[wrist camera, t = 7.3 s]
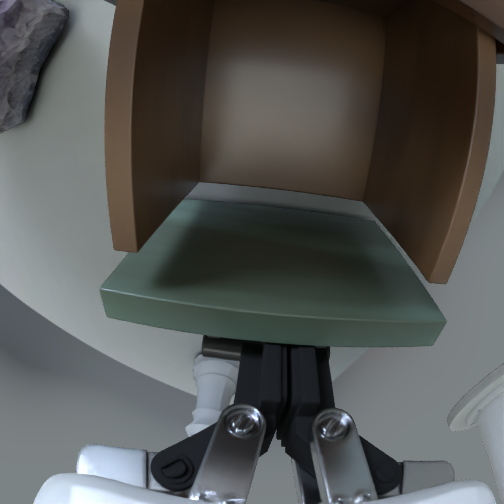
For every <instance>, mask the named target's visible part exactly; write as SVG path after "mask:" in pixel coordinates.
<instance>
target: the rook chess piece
mask: <svg viewBox="0 0 504 504" xmlns="http://www.w3.org/2000/svg"><path fill="white" fill-rule="evenodd" d="M239 364H240V362H239V361H230V360H222V359H215V358H208V357H203V356H202V354H201V355H199V356H197V358H196V359H195V361H194V366H195V367H194V368H193V377H194V380H195V383H196V386H197V388H198V394H197V405H196V409H195V410H194V411H193V412H192V415H193V417H194V421H193V422H192V423H191V424H189V425H188V426H187V427H186V428H185V429H186V432H187V434H188V436H189V437H190V436H192V435H194V434H196V433H198V432H200V431H201V430H203V429H205V428H207V427H209V426H210V425H212V424H214V423H216V422H217V421H218V419H219V416H220V414H221V413H222V411H223V410H224V409H225V408H226V407H228V406H229V404H230V401H231V398H232V396H233V394H234V393H235V392H236V385H237V378H238V371H239Z"/></svg>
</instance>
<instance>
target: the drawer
mask: <svg viewBox="0 0 504 504" xmlns="http://www.w3.org/2000/svg"><path fill="white" fill-rule="evenodd" d="M495 91H496V41H495V37H493V36H492V35H490V34H489V33H487V32H486V31H484V30H483V29H481V28H480V27H478V26H477V25H475V24H474V23H472V22H470V21H469V20H467V19H465V18H464V17H462V16H460V15H458V14H457V13H455V12H453V11H451V10H449V9H448V8H446V7H444V6H442V5H440V4H438V3H436V2H434V1H432V0H117V5H116V10H115V15H114V21H113V27H112V34H111V41H110V48H109V57H108V67H107V79H106V95H105V167H106V184H107V197H108V208H109V217H110V226H111V234H112V241H113V248H114V250H117V251H125V252H129V253H128V254H127V255H126V257H125V258H124V259H123V260H122V261H121V262H120V264H119V265H118V266H117V267H116V269H115V270H114V271H113V272H112V273H111V275H110V276H109V277H108V278H107V280H106V281H105V282H104V283H103V285H102V286H101V287H100V294H101V298H102V301H103V305H104V309H105V312H106V316H107V317H109V318H114V319H118V320H123V321H128V322H133V323H138V324H143V325H148V326H153V327H159V328H164V329H170V330H176V331H182V332H188V333H195V334H202V335H204V336H203V342H202V356H203V357H208V358H215V359H222V360H230V361H239V362H240V357H241V349H242V343H243V342H252V343H261V342H271V343H283V344H296V345H313V346H314V347H315V348H323V349H326V350H327V355H328V361H329V358H330V346H335V347H414V346H432V345H433V344H434V343H435V341H436V339H437V338H438V336H439V334H440V333H441V331H442V329H443V327H444V326H445V324H446V322H447V321H446V319H445V317H444V316H443V314H442V313H441V311H440V310H439V308H438V307H437V305H436V303H435V302H434V300H433V299H432V297H431V296H430V294H429V293H428V292H427V290H426V288H425V287H424V286H423V284H422V283H421V281H420V280H419V278H418V277H417V276H416V274H415V273H414V271H413V270H412V269H411V267H410V266H409V264H408V263H407V262H406V260H405V259H404V258H403V256H402V255H401V254H400V252H399V251H398V250H397V248H396V247H395V246H394V245H393V243H392V242H391V241H390V239H389V238H388V237H387V236H386V234H385V233H384V232H383V231H382V229H381V228H380V227H379V226H378V225H377V223H376V222H375V221H371V220H364V219H358V218H351V217H344V216H337V215H330V214H323V213H315V212H308V211H300V210H292V209H283V208H275V207H266V206H256V205H247V204H237V203H226V202H215V201H203V200H191V199H184V198H185V197H186V196H187V195H188V194H189V193H190V192H191V190H192V189H193V188H194V187H195V186H196V185H197V184H198V183H199V182H205V183H218V184H230V185H241V186H251V187H261V188H270V189H278V190H287V191H295V192H303V193H310V194H317V195H324V196H331V197H338V198H344V199H350V200H356V201H362V202H363V203H364V204H365V205H366V206H367V207H368V208H369V209H370V210H371V212H372V213H373V214H374V215H375V216H376V217H377V218H378V220H379V221H380V222H381V223H382V224H383V225H384V226H385V228H386V229H387V230H388V231H389V232H390V234H391V235H392V236H393V237H394V238H395V240H396V241H397V242H398V243H399V245H400V246H401V247H402V248H403V250H404V251H405V252H406V253H407V255H408V256H409V257H410V258H411V260H412V261H413V262H414V264H415V265H416V266H417V268H418V269H419V270H420V272H421V273H422V274H423V276H424V277H425V278H426V280H427V281H428V282H429V283H436V284H446V283H447V282H448V279H449V277H450V275H451V272H452V270H453V268H454V265H455V263H456V260H457V258H458V255H459V253H460V250H461V247H462V245H463V242H464V239H465V236H466V234H467V231H468V228H469V225H470V222H471V218H472V215H473V212H474V209H475V205H476V202H477V198H478V195H479V191H480V187H481V183H482V179H483V174H484V170H485V165H486V161H487V155H488V150H489V144H490V138H491V131H492V124H493V115H494V105H495Z"/></svg>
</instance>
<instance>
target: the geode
mask: <svg viewBox="0 0 504 504" xmlns="http://www.w3.org/2000/svg"><path fill="white" fill-rule="evenodd" d="M68 19H69V10H68V9H67V8H65V6H64V5H62V4H59V3H56V2H53V1H51V0H0V134H1V133H2V132H4V131H7V130H9V129H11V128H12V127H14V126H17V125H19V124H21V123H24V122H25V119H26V115H27V111H28V107H29V104H30V102H31V99H32V96H33V93H34V89H35V85H36V82H37V79H38V75H39V70H40V68H41V66H42V64H43V63H44V61H45V59H46V58H47V56H48V53H49V51H50V49H51V48H52V46H53V45H54V43H55V42H56V40H57V39H58V37H59V36H60V34H61V33H62V31H63V29H64V26H65V24H66V22H67V20H68Z"/></svg>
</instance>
